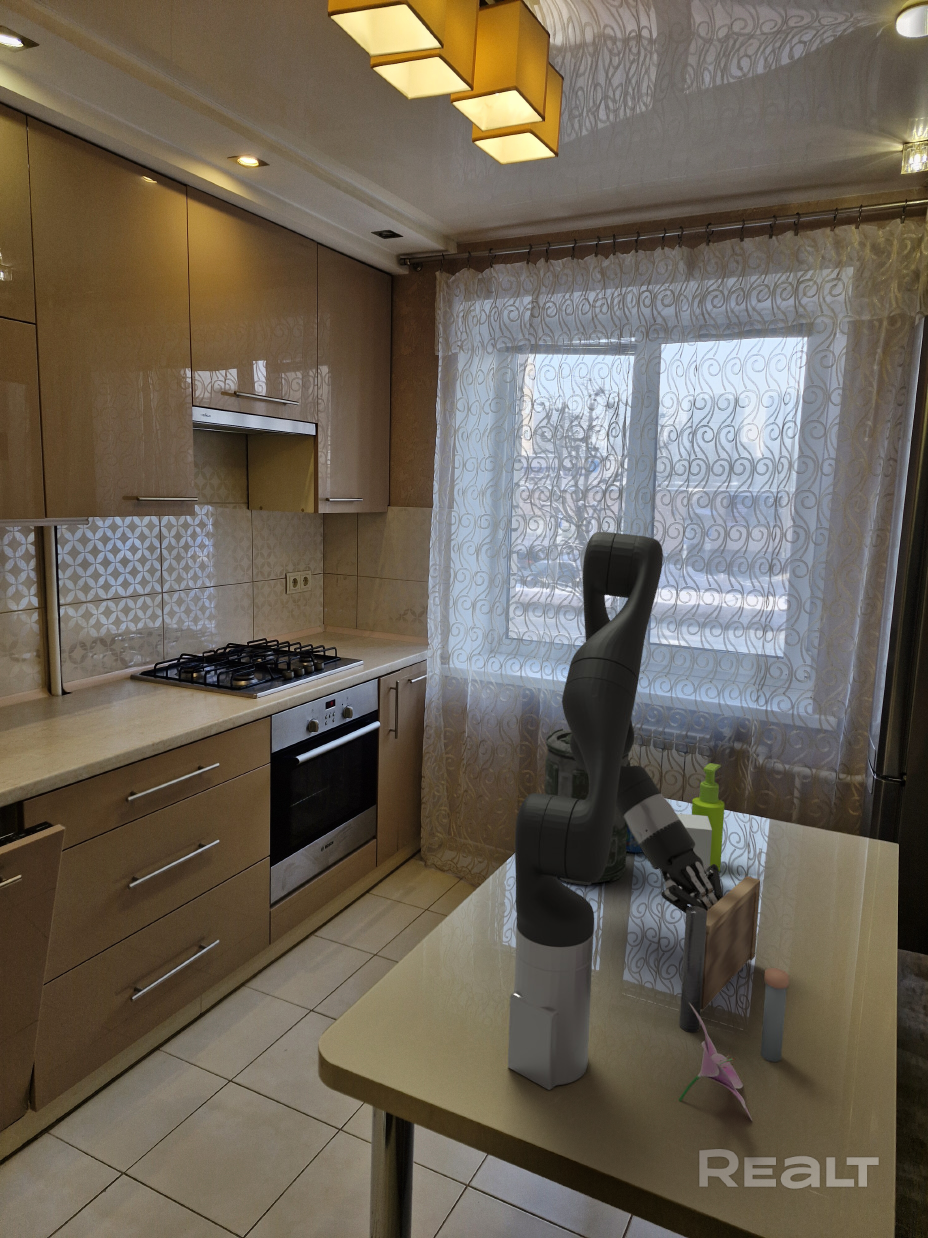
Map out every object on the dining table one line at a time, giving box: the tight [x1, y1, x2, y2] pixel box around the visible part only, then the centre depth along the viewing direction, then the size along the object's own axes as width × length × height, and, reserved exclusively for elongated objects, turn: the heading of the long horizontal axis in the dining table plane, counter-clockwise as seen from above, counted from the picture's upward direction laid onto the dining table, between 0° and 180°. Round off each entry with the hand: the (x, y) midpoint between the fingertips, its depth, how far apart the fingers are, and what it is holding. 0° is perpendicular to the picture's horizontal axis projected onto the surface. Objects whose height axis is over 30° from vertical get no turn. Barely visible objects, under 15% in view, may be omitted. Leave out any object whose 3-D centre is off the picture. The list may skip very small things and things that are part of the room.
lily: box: [678, 1003, 753, 1121], centre depth 92 cm, size 12×12×10 cm
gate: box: [701, 875, 761, 1011], centre depth 114 cm, size 18×2×12 cm, turn 140°
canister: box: [544, 728, 632, 886], centre depth 152 cm, size 16×16×28 cm
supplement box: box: [664, 813, 712, 895], centre depth 146 cm, size 7×7×13 cm
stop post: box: [760, 967, 790, 1063], centre depth 100 cm, size 3×3×11 cm
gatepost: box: [678, 905, 707, 1033], centre depth 105 cm, size 3×3×16 cm
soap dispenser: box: [691, 762, 725, 872], centre depth 154 cm, size 6×7×20 cm
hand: (725, 936), depth 118 cm, fingers closed
